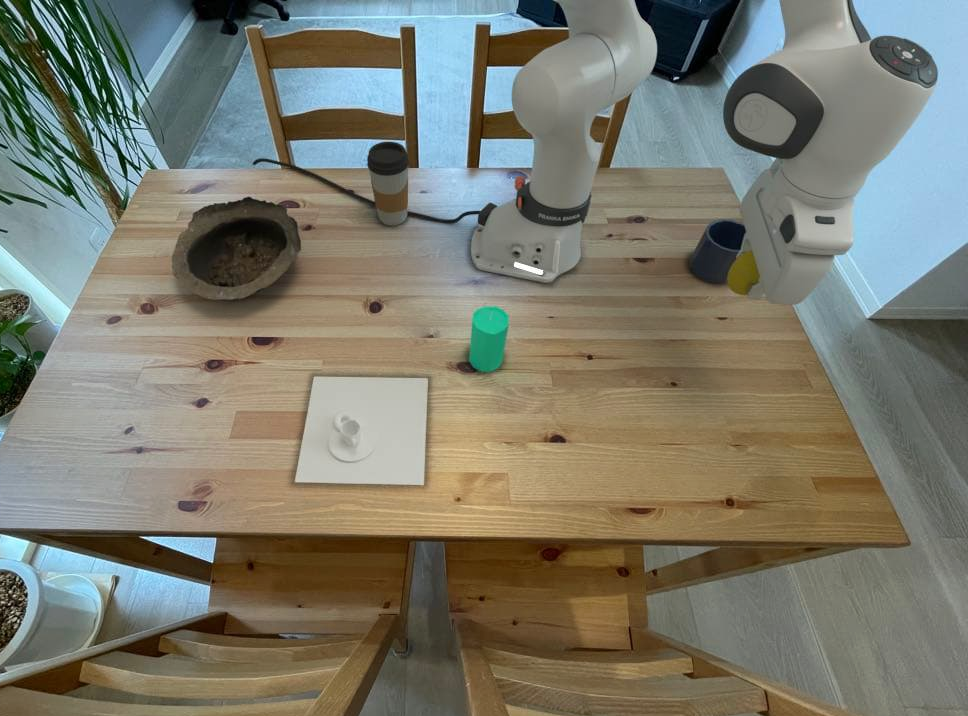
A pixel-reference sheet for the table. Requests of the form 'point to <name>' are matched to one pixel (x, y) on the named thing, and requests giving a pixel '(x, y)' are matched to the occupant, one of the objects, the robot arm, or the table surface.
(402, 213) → the coffee cup
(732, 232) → the glazed cup
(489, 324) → the candle
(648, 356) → the table surface
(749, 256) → the lemon
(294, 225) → the stone bowl
